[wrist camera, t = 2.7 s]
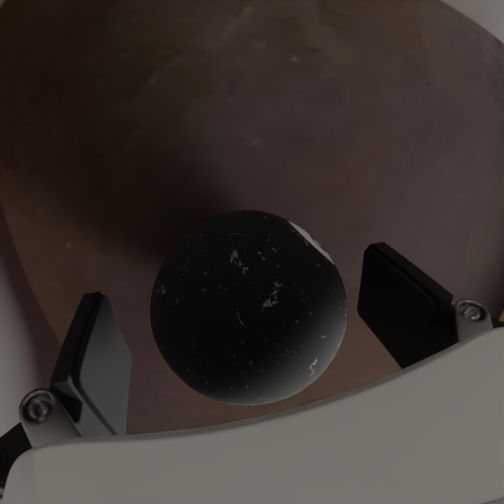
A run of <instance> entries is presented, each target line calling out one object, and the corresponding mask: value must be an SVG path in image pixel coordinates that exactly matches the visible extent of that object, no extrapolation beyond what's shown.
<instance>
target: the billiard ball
mask: <svg viewBox="0 0 504 504" xmlns="http://www.w3.org/2000/svg"><path fill="white" fill-rule="evenodd" d="M150 317H151V326H152V331H153V335H154V338H155V341H156V343H157V346H158V348H159V351H160V352H161V354H162V356H163V358H164V359H165V361H166V363H167V364H168V365H169V366H170V368H171V369H172V370H173V372H174V373H175V374H176V375H177V376H178V377H179V378H180V379H181V380H183V381H184V382H185V383H186V384H187V385H188V386H190V387H191V388H192V389H194V390H195V391H197V392H199V393H201V394H202V395H204V396H206V397H208V398H211V399H213V400H216V401H219V402H223V403H227V404H232V405H244V406H252V405H263V404H268V403H272V402H276V401H279V400H282V399H285V398H287V397H290V396H292V395H294V394H296V393H298V392H299V391H301V390H303V389H304V388H306V387H307V386H308V385H310V384H311V383H312V382H314V381H315V380H316V379H317V378H318V377H319V376H320V375H321V374H322V373H323V372H324V371H325V369H326V368H327V367H328V365H329V364H330V363H331V361H332V360H333V358H334V356H335V355H336V353H337V351H338V349H339V347H340V344H341V342H342V339H343V336H344V333H345V328H346V323H347V299H346V292H345V289H344V285H343V282H342V279H341V277H340V274H339V272H338V270H337V268H336V266H335V264H334V263H333V261H332V259H331V258H330V256H329V255H328V254H327V252H326V251H325V250H324V248H323V247H322V246H321V245H320V244H319V243H318V242H317V241H316V240H315V239H314V238H313V237H312V236H311V235H309V234H308V233H307V232H306V231H304V230H303V229H302V228H300V227H298V226H297V225H295V224H294V223H292V222H290V221H288V220H286V219H284V218H281V217H279V216H276V215H273V214H269V213H266V212H260V211H250V210H242V211H233V212H227V213H224V214H220V215H217V216H215V217H212V218H210V219H208V220H206V221H204V222H202V223H201V224H199V225H198V226H196V227H195V228H193V229H192V230H191V231H189V232H188V233H187V234H186V235H185V236H184V237H183V238H182V239H181V240H180V241H179V242H178V243H177V244H176V245H175V246H174V247H173V249H172V250H171V252H170V253H169V254H168V256H167V257H166V259H165V261H164V263H163V264H162V266H161V268H160V270H159V273H158V275H157V278H156V281H155V284H154V287H153V292H152V297H151V306H150Z"/></svg>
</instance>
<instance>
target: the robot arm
mask: <svg viewBox="0 0 504 504" xmlns="http://www.w3.org/2000/svg"><path fill="white" fill-rule="evenodd" d="M452 299H453V295H452V294H451V293H449V292H448V291H447V290H446V289H444V288H443V287H442V286H441V285H439V284H438V283H437V282H436V281H434V280H433V279H432V278H431V277H429V276H428V275H427V274H426V273H424V272H423V271H422V270H420V269H419V268H418V267H417V266H415V265H414V264H413V263H411V262H410V261H409V260H407V259H406V258H405V257H403V256H402V255H401V254H399V253H398V252H397V251H395V250H394V249H392V248H391V247H390V246H388V245H387V244H386V243H384V242H380V243H375V244H370V245H369V246H368V248H367V249H366V250H365V252H364V259H363V268H362V276H361V284H360V292H359V299H358V305H357V311H358V314H359V316H360V317H361V318H362V319H363V321H364V322H365V323H366V324H367V326H368V327H369V328H370V329H371V330H372V332H373V333H374V334H375V335H376V337H377V338H378V339H379V340H380V342H381V343H382V344H383V345H384V347H385V348H386V349H387V350H388V352H389V353H390V354H391V356H392V357H393V358H394V359H395V361H396V362H397V363H398V364H399V366H400V367H401V368H402V370H400V371H397V372H395V373H393V374H390V375H388V376H385V377H383V378H380V379H378V380H375V381H373V382H370V383H368V384H365V385H362V386H360V387H357V388H354V389H351V390H349V391H346V392H343V393H340V394H337V395H334V396H331V397H328V398H325V399H322V400H318V401H315V402H312V403H308V404H305V405H302V406H298V407H294V408H291V409H287V410H283V411H279V412H275V413H271V414H267V415H263V416H258V417H254V418H249V419H244V420H239V421H234V422H229V423H224V424H218V425H212V426H205V427H199V428H191V429H184V430H175V431H165V432H155V433H144V434H130V435H126V421H127V406H128V393H129V382H130V373H131V364H132V358H131V353H130V351H129V349H128V346H127V344H126V342H125V340H124V337H123V335H122V333H121V330H120V328H119V326H118V323H117V321H116V318H115V316H114V313H113V311H112V308H111V306H110V303H109V301H108V298H107V296H106V295H102V294H101V293H100V292H94V293H88V294H84V295H83V297H82V300H81V302H80V304H79V306H78V309H77V311H76V313H75V316H74V318H73V320H72V323H71V325H70V328H69V330H68V333H67V335H66V338H65V340H64V343H63V346H62V348H61V352H60V354H59V357H58V360H57V362H56V365H55V368H54V371H53V374H52V377H51V380H50V382H51V384H50V387H49V389H44V388H40V389H36V390H33V391H31V392H30V393H28V394H27V395H26V396H25V397H24V398H23V400H22V401H21V404H20V406H19V412H18V413H19V418H20V421H21V422H20V423H19V424H17V425H16V426H15V427H13V428H12V429H11V430H10V431H8V432H7V433H6V434H4V435H3V436H2V437H0V504H504V322H502V321H497V320H493V319H491V317H490V313H489V311H488V309H487V308H486V307H485V306H484V305H483V304H482V303H480V302H478V301H476V300H473V299H467V298H464V299H460V300H458V301H457V302H456V303H455V305H454V306H453V305H452V304H451V302H452Z"/></svg>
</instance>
